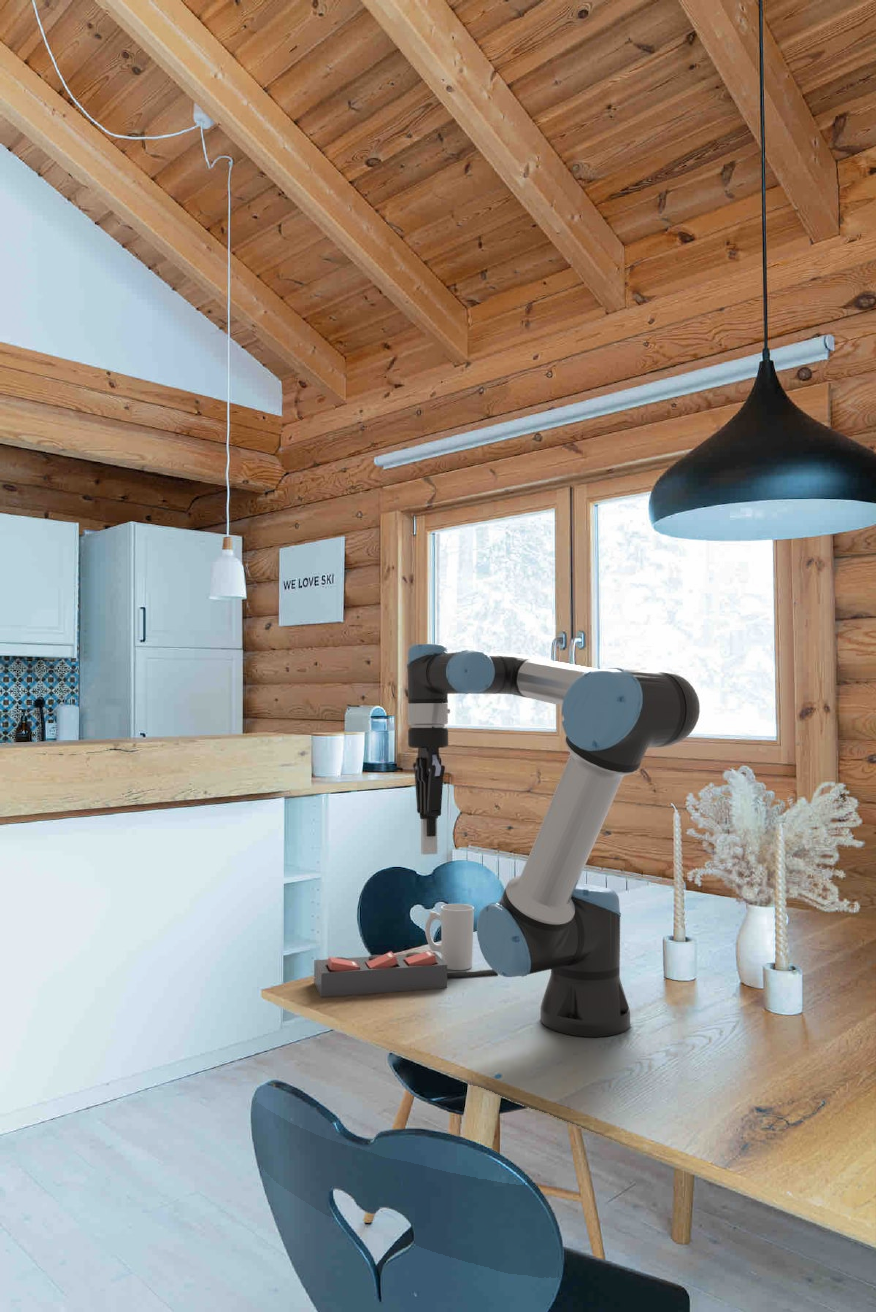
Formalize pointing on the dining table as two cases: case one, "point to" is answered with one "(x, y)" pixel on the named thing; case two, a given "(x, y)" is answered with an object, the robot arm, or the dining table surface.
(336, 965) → the rocker
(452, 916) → the mug
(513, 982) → the dining table surface
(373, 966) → the rocker
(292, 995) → the dining table surface
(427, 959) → the rocker
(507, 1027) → the dining table surface
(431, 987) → the switch panel
